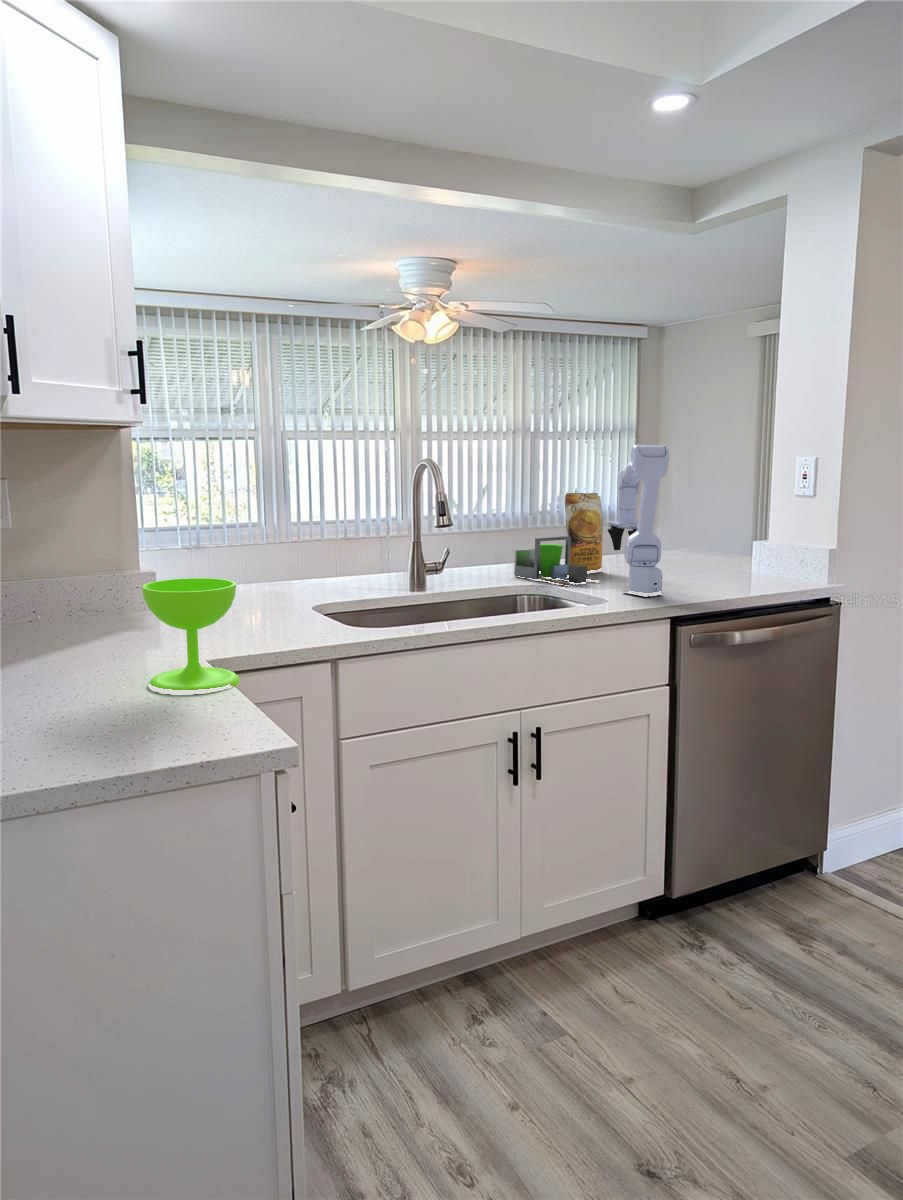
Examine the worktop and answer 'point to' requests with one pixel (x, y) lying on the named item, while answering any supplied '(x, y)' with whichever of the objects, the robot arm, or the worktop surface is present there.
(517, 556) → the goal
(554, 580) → the lane rails
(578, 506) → the pancake mix bag
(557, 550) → the cup
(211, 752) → the worktop surface
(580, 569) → the blue and gray block
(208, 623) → the wineglass
